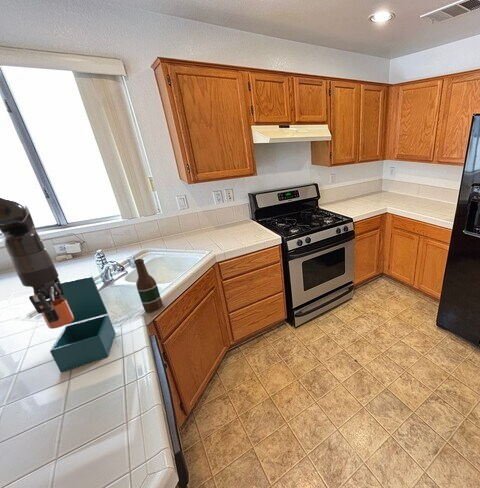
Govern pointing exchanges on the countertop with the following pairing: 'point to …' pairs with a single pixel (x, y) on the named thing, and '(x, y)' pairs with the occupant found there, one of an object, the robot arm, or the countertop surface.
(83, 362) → the box
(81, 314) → the lid
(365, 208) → the countertop surface
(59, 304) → the cup
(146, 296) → the beer bottle
